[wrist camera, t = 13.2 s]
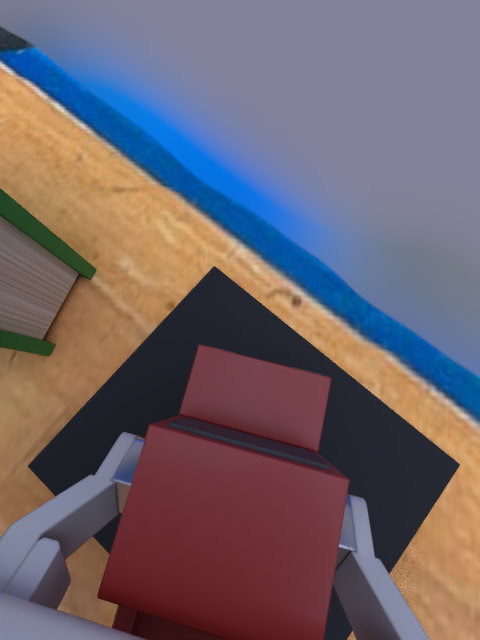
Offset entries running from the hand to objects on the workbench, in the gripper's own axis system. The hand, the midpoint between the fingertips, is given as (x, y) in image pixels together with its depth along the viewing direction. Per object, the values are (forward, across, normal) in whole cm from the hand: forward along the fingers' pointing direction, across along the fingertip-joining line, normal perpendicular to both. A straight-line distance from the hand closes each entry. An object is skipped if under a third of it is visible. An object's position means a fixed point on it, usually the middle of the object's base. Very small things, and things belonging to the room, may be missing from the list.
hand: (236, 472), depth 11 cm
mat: (+7, -1, +10) cm, 12 cm away
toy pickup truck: (+2, 0, +5) cm, 5 cm away
